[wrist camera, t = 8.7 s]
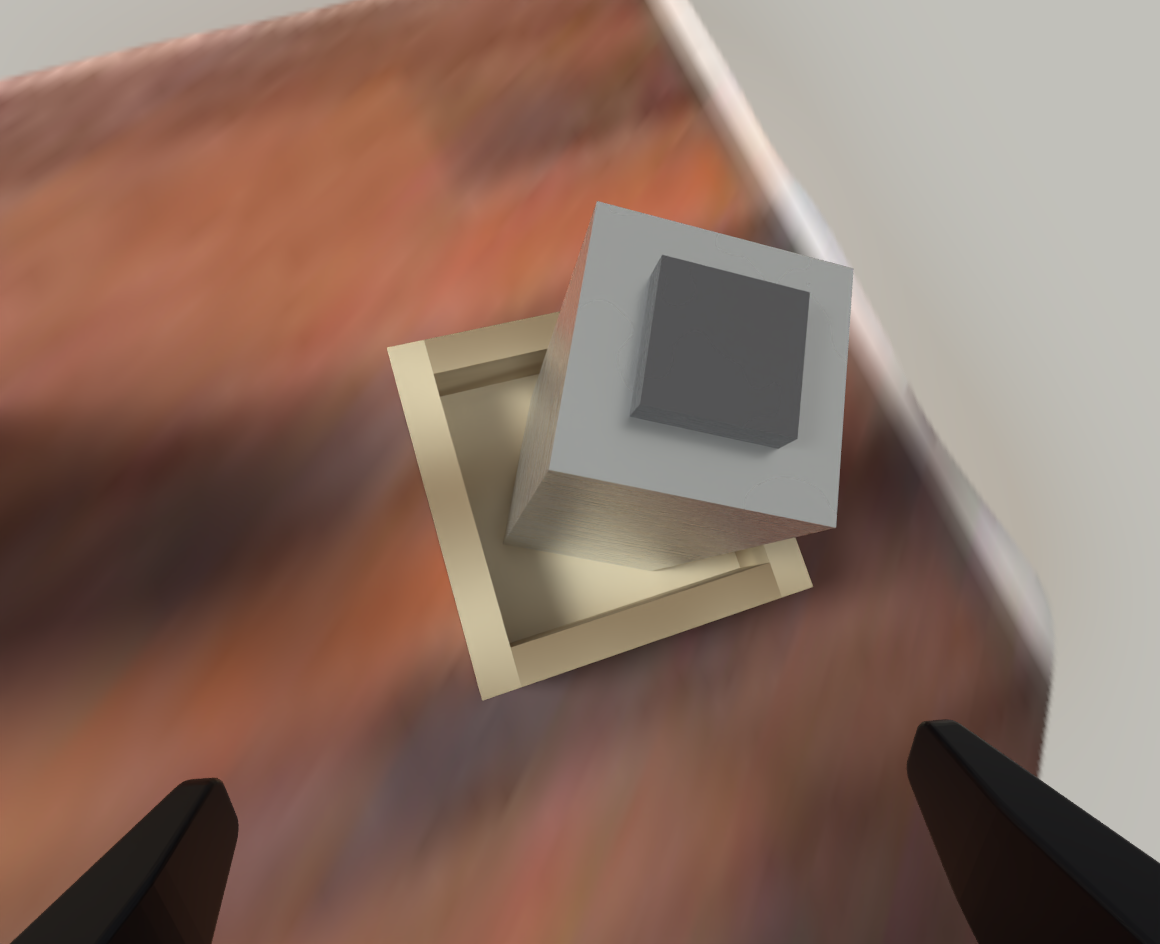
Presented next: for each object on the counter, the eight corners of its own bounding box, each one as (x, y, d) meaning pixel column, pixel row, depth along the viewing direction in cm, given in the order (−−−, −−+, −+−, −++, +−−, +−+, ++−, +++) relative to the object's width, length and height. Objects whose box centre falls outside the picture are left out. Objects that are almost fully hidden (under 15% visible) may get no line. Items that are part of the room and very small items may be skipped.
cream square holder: (764, 590, 21) (813, 586, 18) (479, 687, 19) (482, 700, 16) (672, 324, 23) (703, 281, 20) (396, 385, 20) (386, 347, 18)
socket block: (651, 571, 20) (859, 521, 9) (502, 543, 19) (554, 460, 9) (670, 429, 21) (874, 249, 11) (530, 399, 20) (605, 177, 10)
